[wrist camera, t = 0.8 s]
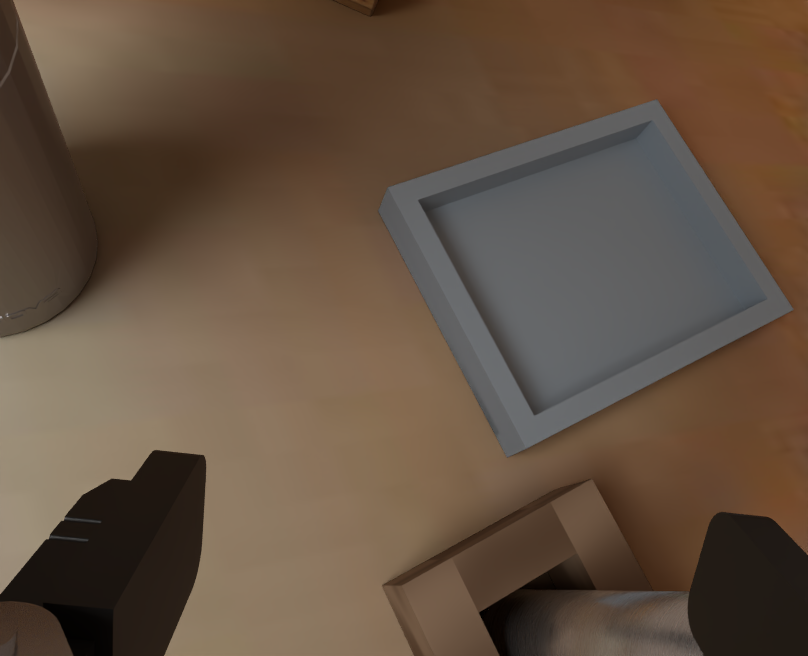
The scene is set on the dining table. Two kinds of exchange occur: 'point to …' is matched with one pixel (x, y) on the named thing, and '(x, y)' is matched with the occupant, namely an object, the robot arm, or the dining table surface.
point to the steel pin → (591, 623)
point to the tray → (360, 5)
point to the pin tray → (578, 268)
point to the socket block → (512, 569)
